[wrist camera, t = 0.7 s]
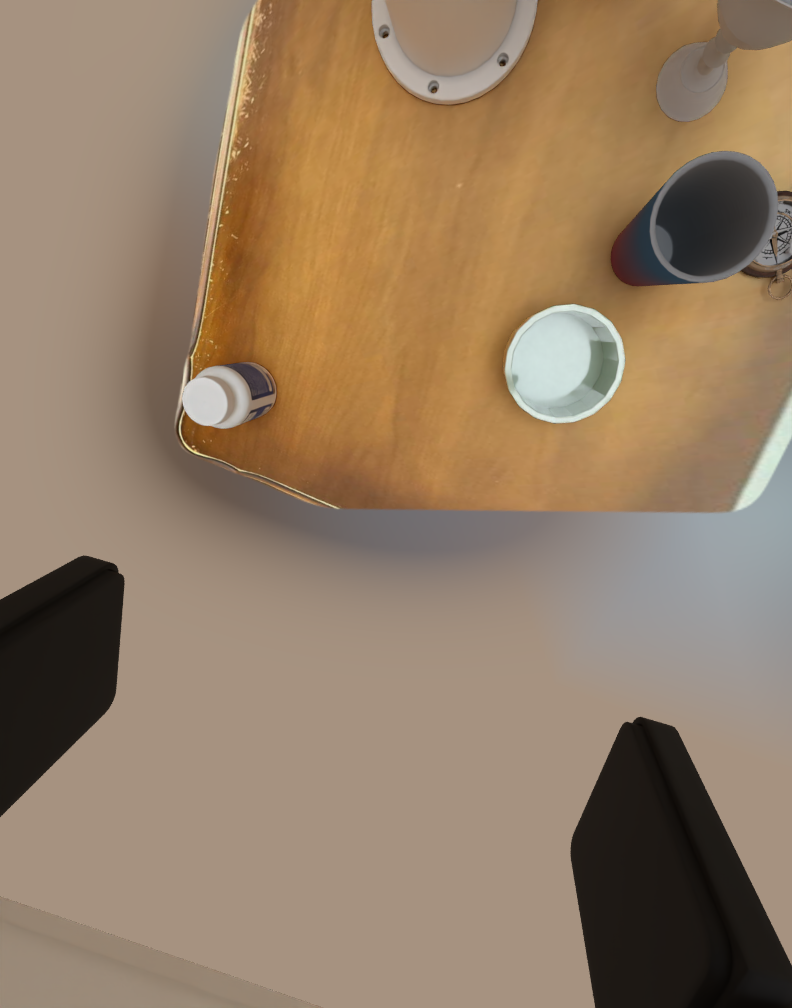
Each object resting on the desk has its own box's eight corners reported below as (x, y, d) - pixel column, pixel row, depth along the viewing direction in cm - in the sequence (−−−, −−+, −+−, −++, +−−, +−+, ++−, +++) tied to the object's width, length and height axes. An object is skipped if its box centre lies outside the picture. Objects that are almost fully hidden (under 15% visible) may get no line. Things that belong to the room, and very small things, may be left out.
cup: (602, 304, 47) (651, 292, 33) (596, 218, 45) (646, 166, 31) (687, 289, 46) (777, 270, 32) (685, 199, 44) (780, 137, 30)
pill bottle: (229, 355, 54) (176, 361, 44) (281, 368, 53) (239, 376, 44) (223, 410, 55) (170, 425, 46) (273, 422, 55) (231, 441, 46)
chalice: (646, 32, 41) (758, -177, 24) (745, 16, 40) (935, -214, 23) (641, 143, 43) (740, 23, 26) (735, 132, 42) (902, -2, 25)
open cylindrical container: (520, 296, 48) (525, 290, 42) (623, 323, 47) (644, 322, 41) (489, 396, 51) (490, 405, 45) (586, 423, 50) (600, 436, 44)
